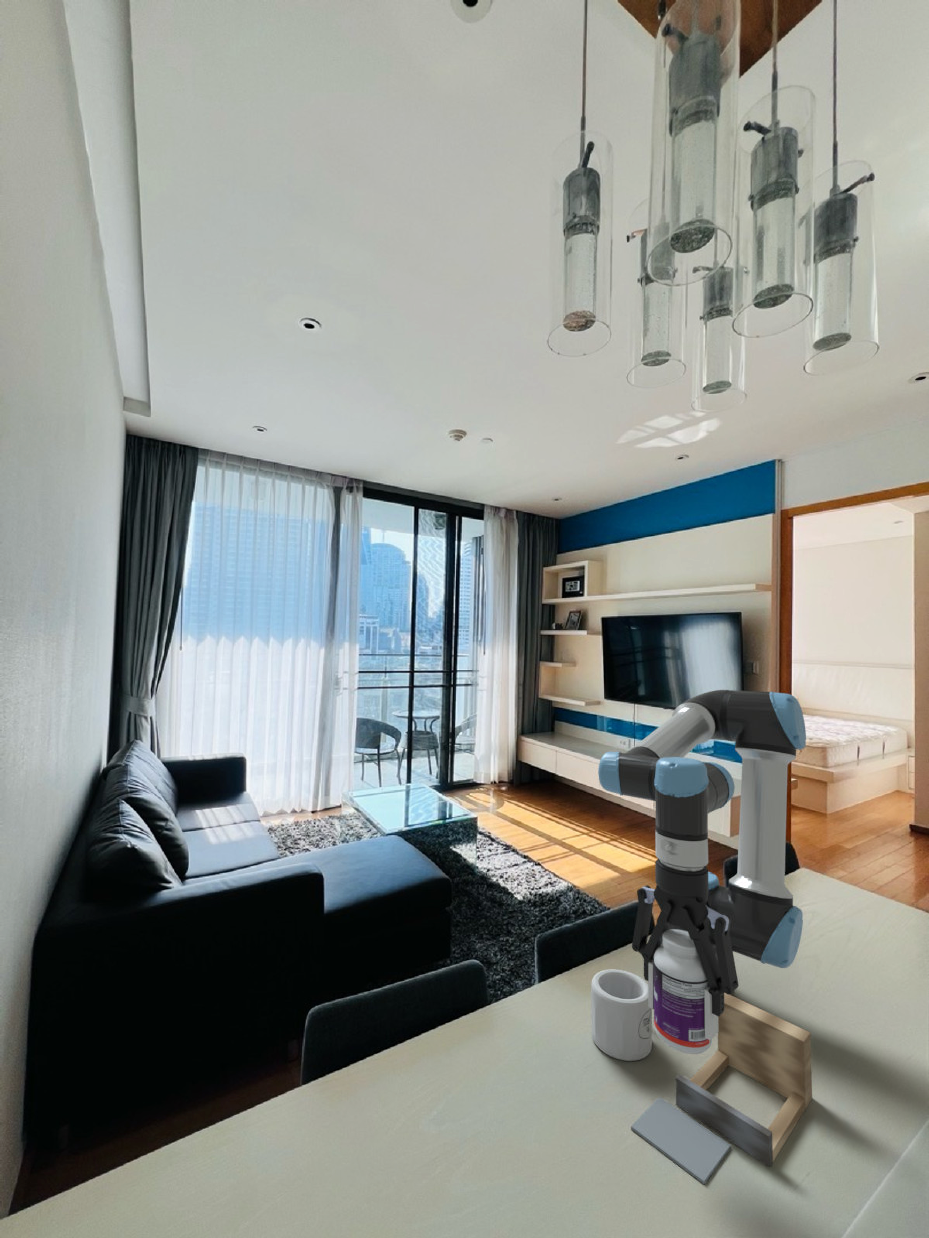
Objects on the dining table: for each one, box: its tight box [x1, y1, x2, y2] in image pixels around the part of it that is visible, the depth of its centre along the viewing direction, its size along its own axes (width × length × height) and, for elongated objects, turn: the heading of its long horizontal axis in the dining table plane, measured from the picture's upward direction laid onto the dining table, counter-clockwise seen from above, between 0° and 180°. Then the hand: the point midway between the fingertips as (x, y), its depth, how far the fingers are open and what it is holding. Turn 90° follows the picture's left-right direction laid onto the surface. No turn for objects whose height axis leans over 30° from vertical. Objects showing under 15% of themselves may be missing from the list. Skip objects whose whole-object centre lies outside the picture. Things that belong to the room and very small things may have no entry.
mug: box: [590, 968, 653, 1062], centre depth 100 cm, size 14×11×10 cm
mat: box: [630, 1096, 732, 1185], centre depth 78 cm, size 11×8×1 cm
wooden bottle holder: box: [675, 993, 813, 1168], centre depth 86 cm, size 14×18×10 cm
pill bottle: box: [653, 929, 713, 1055], centre depth 80 cm, size 8×8×14 cm
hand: (682, 1018), depth 80 cm, fingers closed on pill bottle, 8 cm apart
